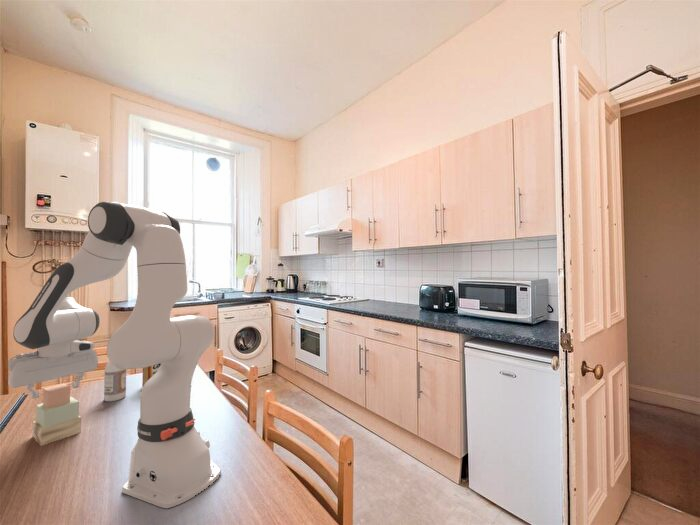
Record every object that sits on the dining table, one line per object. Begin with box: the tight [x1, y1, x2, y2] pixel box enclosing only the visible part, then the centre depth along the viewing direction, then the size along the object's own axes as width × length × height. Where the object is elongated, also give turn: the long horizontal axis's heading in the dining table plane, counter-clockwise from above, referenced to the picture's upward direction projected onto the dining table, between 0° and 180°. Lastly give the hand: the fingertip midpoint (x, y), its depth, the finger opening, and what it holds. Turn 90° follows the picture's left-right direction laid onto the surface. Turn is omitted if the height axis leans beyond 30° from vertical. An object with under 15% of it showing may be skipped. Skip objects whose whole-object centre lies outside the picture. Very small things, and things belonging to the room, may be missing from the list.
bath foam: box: [103, 359, 127, 402], centre depth 122 cm, size 7×7×20 cm
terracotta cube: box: [42, 383, 71, 408], centre depth 95 cm, size 5×5×5 cm
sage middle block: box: [35, 395, 80, 428], centre depth 95 cm, size 8×8×5 cm
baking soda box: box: [141, 363, 161, 388], centre depth 136 cm, size 10×6×16 cm
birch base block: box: [32, 415, 82, 447], centre depth 95 cm, size 9×9×5 cm
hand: (56, 392), depth 95 cm, fingers open, 8 cm apart
